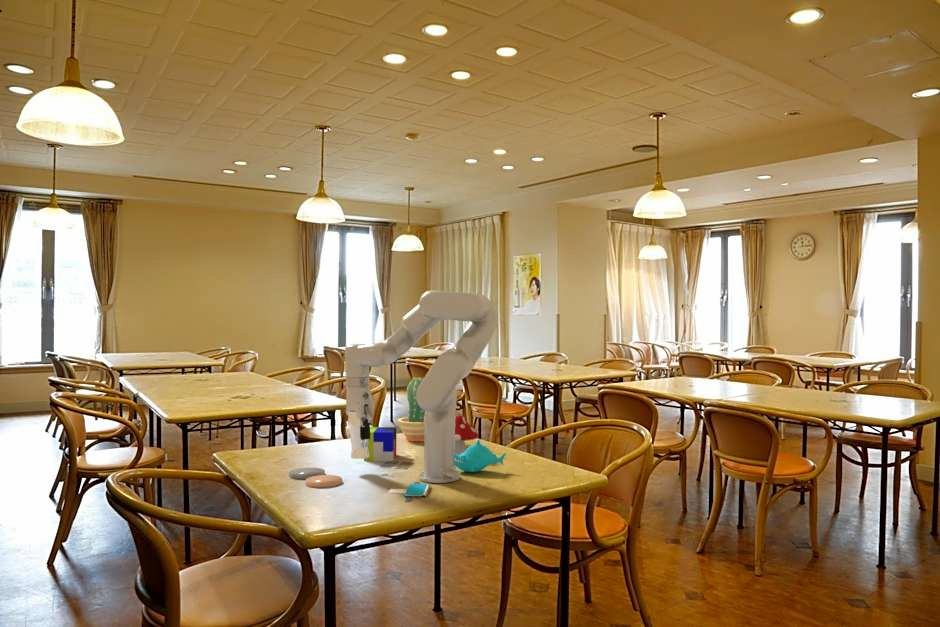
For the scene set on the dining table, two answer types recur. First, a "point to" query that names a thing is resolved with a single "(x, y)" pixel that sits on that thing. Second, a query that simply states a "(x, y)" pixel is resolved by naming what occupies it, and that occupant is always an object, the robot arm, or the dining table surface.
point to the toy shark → (476, 458)
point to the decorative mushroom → (463, 434)
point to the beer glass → (357, 437)
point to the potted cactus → (413, 414)
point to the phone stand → (413, 490)
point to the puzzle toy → (382, 444)
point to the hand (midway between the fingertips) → (359, 437)
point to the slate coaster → (306, 473)
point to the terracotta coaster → (323, 481)
